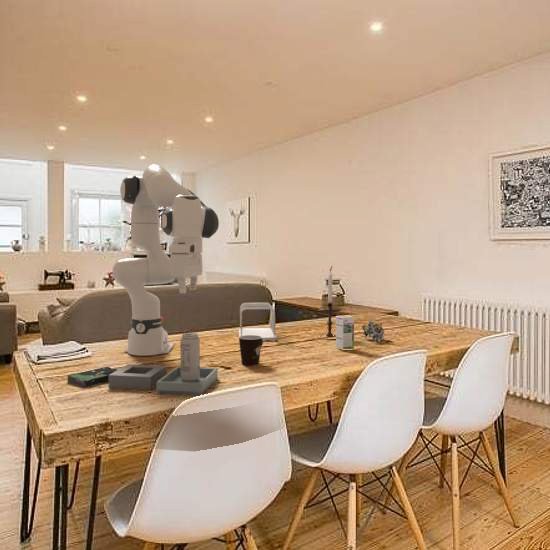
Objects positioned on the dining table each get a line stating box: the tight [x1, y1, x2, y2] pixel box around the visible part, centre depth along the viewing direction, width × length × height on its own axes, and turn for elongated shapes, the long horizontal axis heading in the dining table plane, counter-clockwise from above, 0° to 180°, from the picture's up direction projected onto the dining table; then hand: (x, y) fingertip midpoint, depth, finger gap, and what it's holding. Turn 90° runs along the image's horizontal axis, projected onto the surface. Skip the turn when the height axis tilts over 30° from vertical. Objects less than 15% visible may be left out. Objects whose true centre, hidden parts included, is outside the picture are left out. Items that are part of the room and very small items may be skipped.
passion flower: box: [361, 319, 386, 343], centre depth 225 cm, size 11×11×12 cm
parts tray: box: [155, 366, 219, 396], centre depth 152 cm, size 18×14×4 cm
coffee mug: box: [238, 335, 264, 367], centre depth 181 cm, size 12×9×10 cm
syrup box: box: [335, 314, 355, 349], centre depth 206 cm, size 6×6×14 cm
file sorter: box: [238, 302, 278, 342], centre depth 235 cm, size 25×17×16 cm
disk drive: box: [67, 366, 119, 388], centre depth 158 cm, size 10×3×15 cm
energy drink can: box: [179, 332, 201, 383], centre depth 154 cm, size 6×6×15 cm
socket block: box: [108, 363, 168, 390], centre depth 155 cm, size 14×14×4 cm
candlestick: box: [318, 265, 342, 338], centre depth 230 cm, size 11×11×35 cm
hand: (188, 291), depth 150 cm, fingers open, 8 cm apart
